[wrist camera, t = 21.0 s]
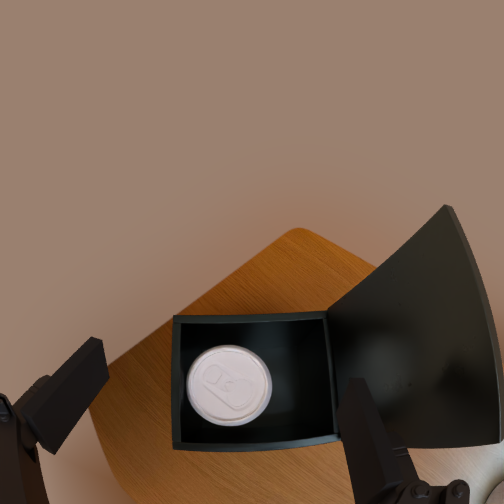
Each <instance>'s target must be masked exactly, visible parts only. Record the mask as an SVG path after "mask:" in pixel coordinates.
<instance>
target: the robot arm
mask: <svg viewBox="0 0 504 504" xmlns="http://www.w3.org/2000/svg"><path fill="white" fill-rule="evenodd" d="M109 378H110V377H109V372H108V368H107V363H106V358H105V353H104V348H103V342H102V340H100V339H97V338H94V337H90V338H89V339H88V340H87V341H86V342H85V343H84V344H83V345H82V346H81V347H80V348H79V349H78V350H77V351H76V352H75V353H74V354H73V355H72V356H71V357H70V358H69V359H68V360H67V361H66V362H65V363H64V364H63V365H62V366H61V367H60V368H59V369H58V370H57V371H56V372H55V373H54V374H53V375H52V376H49V375H45V376H43V377H41V378H39V379H38V380H37V381H36V382H35V383H34V384H33V386H31V387H30V388H29V390H28V391H26V392H25V393H24V394H23V395H22V396H21V398H20V399H18V400H17V402H16V403H15V404H14V405H13V406H12V405H11V403H10V402H9V400H8V398H7V397H6V395H4V394H2V393H0V504H49V501H48V498H47V493H46V489H45V486H44V481H43V477H42V472H41V468H40V462H39V456H38V450H37V447H36V443H37V442H39V443H40V445H41V446H42V448H44V449H45V450H47V451H48V452H50V453H52V454H54V455H55V454H56V452H57V451H58V449H59V448H60V447H61V445H62V444H63V442H64V441H65V439H66V438H67V436H68V435H69V433H70V432H71V431H72V429H73V428H74V426H75V425H76V423H77V422H78V421H79V419H80V418H81V416H82V415H83V413H84V412H85V411H86V409H87V408H88V407H89V405H90V404H91V402H92V401H93V400H94V398H95V397H96V396H97V394H98V393H99V392H100V390H101V389H102V387H103V386H104V385H105V383H106V382H107V381H108V379H109ZM336 416H337V420H338V425H339V429H340V433H341V438H342V442H343V446H344V451H345V455H346V460H347V465H348V469H349V474H350V479H351V484H352V489H353V494H354V499H355V504H469V498H470V489H469V485H468V484H467V483H466V482H465V481H464V480H460V479H458V480H454V481H452V482H451V483H449V484H448V485H447V486H430V485H429V484H428V483H427V482H425V481H422V480H420V479H419V477H418V475H417V472H416V470H415V467H414V465H413V462H412V460H411V457H410V455H409V452H408V450H407V448H406V445H405V443H404V440H403V438H402V437H401V436H400V435H399V434H398V433H397V432H396V431H393V432H386V430H385V427H384V425H383V422H382V420H381V417H380V415H379V412H378V410H377V407H376V405H375V402H374V400H373V398H372V395H371V393H370V390H369V388H368V386H367V383H366V381H365V379H364V378H350V381H349V383H348V386H347V388H346V391H345V393H344V396H343V398H342V400H341V403H340V405H339V407H338V409H337V412H336Z"/></svg>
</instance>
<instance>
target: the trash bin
mask: <svg viewBox="0 0 504 504" xmlns="http://www.w3.org/2000/svg"><path fill="white" fill-rule="evenodd" d="M221 345H235V346H240V347H243V348H246V349H248V350H250V351H252V352H253V353H255V354H256V355H257V356H259V357H260V358H261V359H262V361H263V362H264V363H265V365H266V366H267V368H268V370H269V372H270V375H271V379H272V393H271V397H270V400H269V403H268V405H267V406H266V408H265V409H264V411H263V412H262V413H261V414H260V415H259V416H258V417H256V418H255V419H254V420H252V421H250V422H248V423H245V424H242V425H238V426H221V425H217V424H214V423H212V422H209V421H208V420H206V419H204V418H203V417H202V416H200V415H199V414H198V413H197V412H196V411H195V409H194V408H193V407H192V405H191V403H190V401H189V399H188V396H187V392H186V378H187V374H188V371H189V369H190V367H191V365H192V363H193V362H194V361H195V359H196V358H197V357H198V356H199V355H201V354H202V353H203V352H205V351H206V350H208V349H211V348H213V347H216V346H221ZM338 407H339V402H338V390H337V380H336V370H335V361H334V353H333V345H332V337H331V329H330V322H329V315H328V310H325V311H311V312H295V313H276V314H250V315H173V330H172V358H171V420H172V441H173V442H172V445H173V449H174V450H185V451H202V452H252V451H269V450H281V449H290V448H299V447H306V446H313V445H319V444H325V443H330V442H336V441H341V433H340V429H339V425H338V420H337V416H336V412H337V409H338Z"/></svg>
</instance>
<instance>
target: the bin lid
mask: <svg viewBox="0 0 504 504" xmlns="http://www.w3.org/2000/svg"><path fill="white" fill-rule="evenodd" d="M328 315H329V322H330V329H331V337H332V345H333V353H334V361H335V370H336V380H337V390H338V402H339V405H340V403H341V400H342V398H343V396H344V393H345V391H346V388H347V386H348V383H349V381H350V378H364V379H365V381H366V383H367V386H368V388H369V390H370V393H371V395H372V398H373V400H374V402H375V405H376V407H377V410H378V412H379V415H380V417H381V420H382V422H383V425H384V427H385V430H386V432H393V431H396V432H397V433H398V434H399V435H400V436H401V437H402V438H403V440H404V443H405V445H406V448H422V449H435V448H460V447H473V446H482V445H490V444H497V443H500V442H501V441H502V440H503V439H504V375H503V367H502V360H501V354H500V348H499V342H498V337H497V333H496V328H495V324H494V320H493V315H492V311H491V307H490V304H489V300H488V297H487V294H486V290H485V287H484V284H483V281H482V277H481V274H480V272H479V269H478V266H477V263H476V261H475V258H474V255H473V253H472V250H471V248H470V245H469V243H468V240H467V238H466V236H465V233H464V231H463V229H462V227H461V224H460V222H459V220H458V218H457V216H456V214H455V212H454V209H453V208H452V207H451V206H448V205H443V206H442V207H441V208H440V210H439V211H438V212H437V213H436V214H435V215H434V216H433V217H432V218H431V219H430V220H429V221H428V222H427V223H426V224H424V225H423V227H421V228H420V229H419V230H418V231H417V232H416V233H415V234H414V235H413V236H412V237H411V238H410V239H409V240H408V241H407V242H406V243H405V244H403V245H402V246H401V247H400V248H399V249H398V250H397V251H396V252H395V253H394V254H393V255H391V256H390V257H389V258H388V259H387V260H386V261H385V262H384V263H382V264H381V265H380V266H379V267H378V268H377V269H375V270H374V271H373V272H372V273H371V274H370V275H368V276H367V277H366V278H365V279H364V280H362V281H361V282H360V283H359V284H358V285H356V286H355V287H354V288H353V289H352V290H350V291H349V292H348V293H347V294H345V295H344V296H343V297H342V298H340V299H339V300H338V301H337V302H335V303H334V304H333V305H331V306H330V307H329V308H328ZM341 441H342V438H341Z"/></svg>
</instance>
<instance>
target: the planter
mask: <svg viewBox="0 0 504 504" xmlns="http://www.w3.org/2000/svg"><path fill="white" fill-rule="evenodd" d="M485 504H504V481H502V482H501V483H500V484H499V485H498V486H497V487H496V488H495V489H494V490H493V492H492V493H491V494H490V496H489V497H488V499H487V501H486V503H485Z"/></svg>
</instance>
